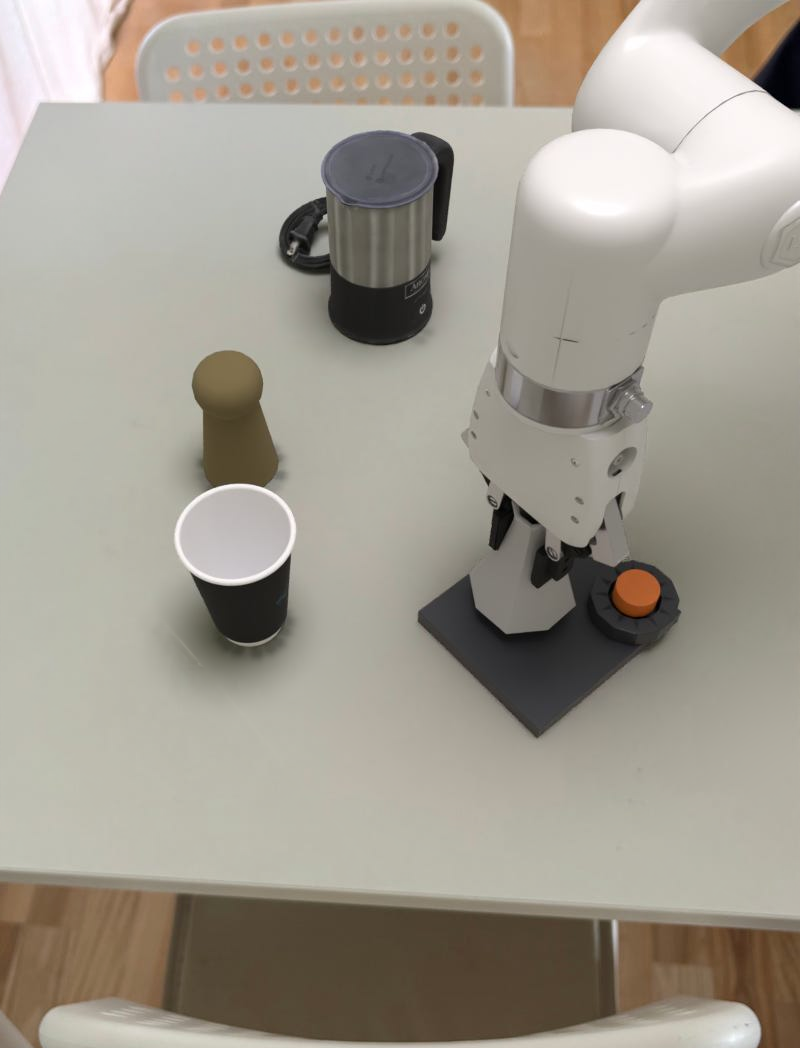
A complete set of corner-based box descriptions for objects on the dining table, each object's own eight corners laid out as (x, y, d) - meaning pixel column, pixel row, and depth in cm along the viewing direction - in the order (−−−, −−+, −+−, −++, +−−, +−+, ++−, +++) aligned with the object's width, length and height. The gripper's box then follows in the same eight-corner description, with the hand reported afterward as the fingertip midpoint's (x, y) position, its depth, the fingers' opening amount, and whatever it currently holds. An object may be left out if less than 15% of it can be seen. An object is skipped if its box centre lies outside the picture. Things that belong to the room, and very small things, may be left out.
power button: (632, 573, 78) (636, 561, 76) (665, 601, 76) (670, 589, 75) (602, 597, 77) (606, 585, 75) (635, 625, 75) (639, 613, 74)
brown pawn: (235, 506, 86) (217, 413, 77) (188, 462, 88) (165, 366, 79) (294, 464, 88) (284, 368, 79) (246, 422, 90) (231, 324, 81)
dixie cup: (325, 634, 79) (318, 548, 70) (226, 685, 77) (206, 603, 68) (273, 555, 83) (260, 464, 74) (178, 602, 81) (153, 514, 72)
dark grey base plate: (559, 514, 84) (564, 491, 81) (686, 622, 78) (696, 600, 76) (417, 621, 79) (418, 599, 77) (541, 743, 74) (547, 724, 71)
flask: (451, 570, 78) (460, 484, 70) (541, 534, 80) (559, 446, 71) (500, 651, 75) (515, 571, 66) (593, 612, 76) (619, 529, 68)
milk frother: (415, 356, 94) (421, 214, 81) (242, 320, 97) (223, 178, 85) (458, 247, 101) (469, 102, 89) (296, 217, 104) (285, 72, 92)
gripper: (738, 416, 56) (661, 604, 71) (509, 252, 63) (484, 454, 78) (636, 494, 53) (579, 671, 69) (411, 314, 61) (405, 510, 76)
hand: (529, 554), depth 73 cm, fingers closed on flask, 3 cm apart
